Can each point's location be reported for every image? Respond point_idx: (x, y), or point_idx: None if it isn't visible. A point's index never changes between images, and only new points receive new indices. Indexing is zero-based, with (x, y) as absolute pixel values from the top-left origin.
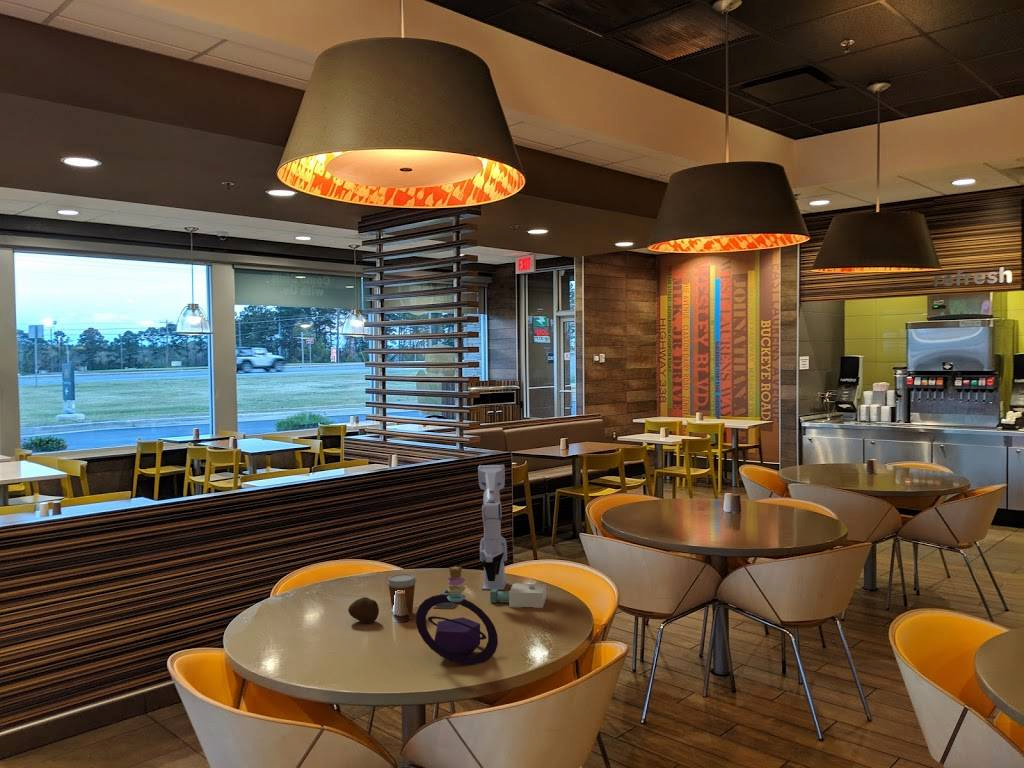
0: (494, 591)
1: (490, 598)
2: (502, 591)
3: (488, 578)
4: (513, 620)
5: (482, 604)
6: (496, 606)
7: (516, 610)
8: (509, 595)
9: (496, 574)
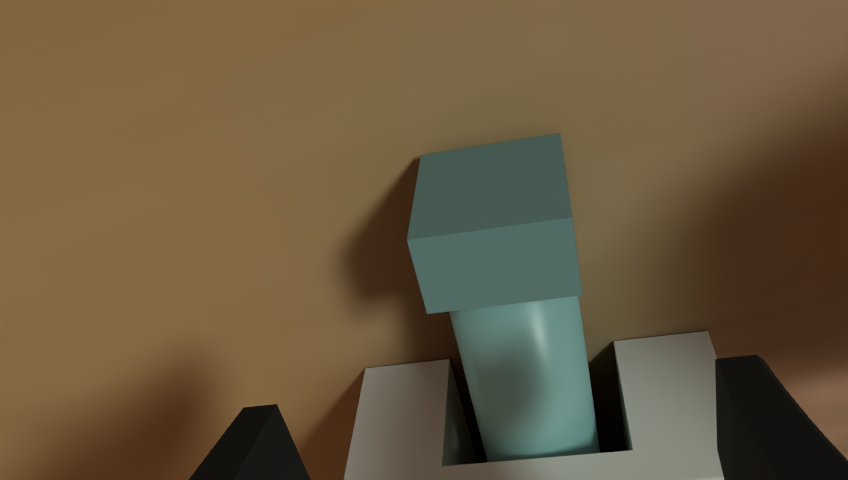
0: (442, 290)
1: (418, 185)
2: (531, 353)
3: (221, 453)
4: (51, 473)
5: (352, 61)
6: (342, 247)
7: (301, 440)
8: (347, 477)
9: (719, 424)
